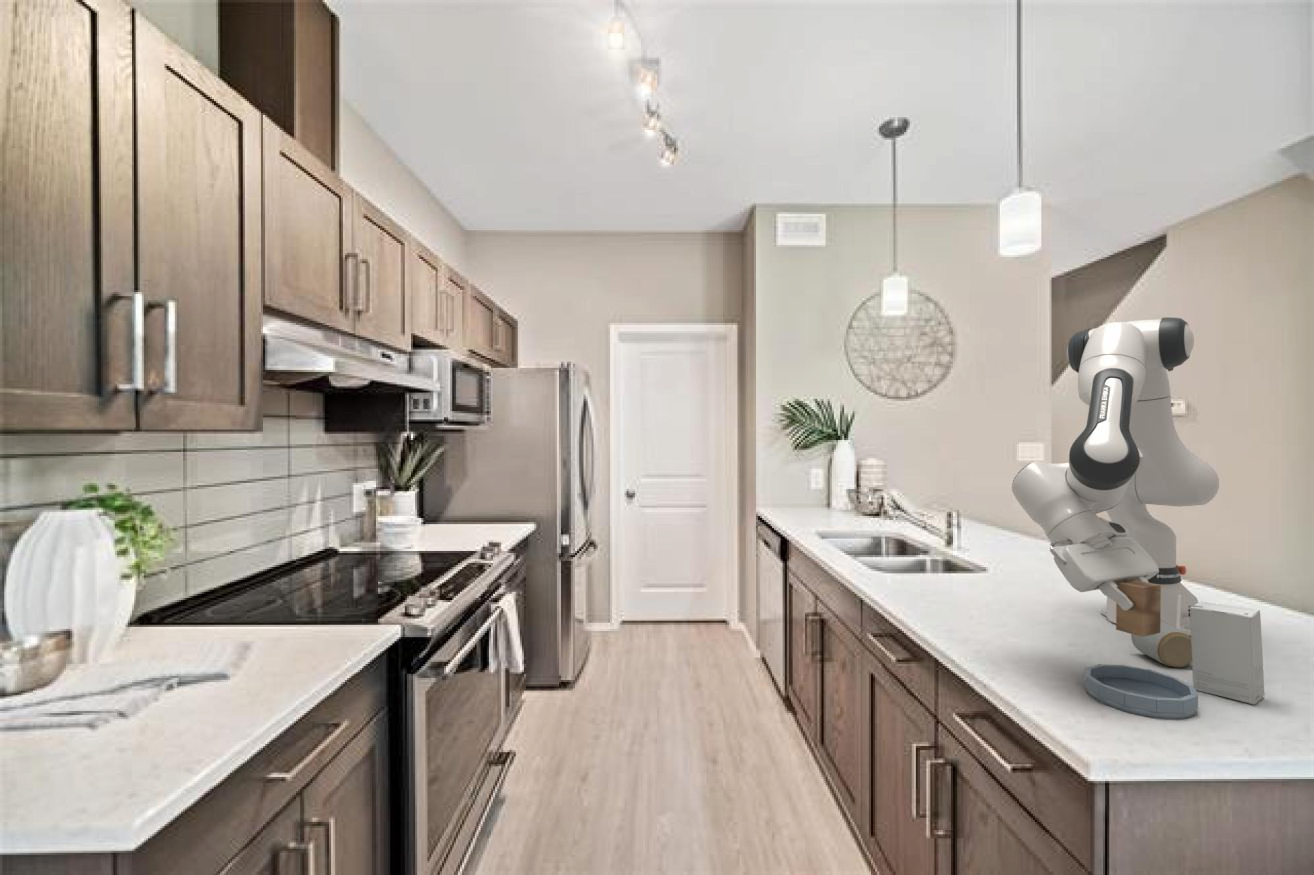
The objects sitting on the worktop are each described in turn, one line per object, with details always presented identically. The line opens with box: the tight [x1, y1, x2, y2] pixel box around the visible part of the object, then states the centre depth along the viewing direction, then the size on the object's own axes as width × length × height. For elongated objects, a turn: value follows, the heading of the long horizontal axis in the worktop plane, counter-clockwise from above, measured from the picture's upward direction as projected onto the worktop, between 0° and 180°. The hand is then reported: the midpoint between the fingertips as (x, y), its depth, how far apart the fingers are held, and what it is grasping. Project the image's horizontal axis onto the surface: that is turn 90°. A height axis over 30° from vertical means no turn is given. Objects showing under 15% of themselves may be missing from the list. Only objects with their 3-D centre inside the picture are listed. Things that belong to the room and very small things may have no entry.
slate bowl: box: [1084, 663, 1199, 720], centre depth 104 cm, size 15×15×3 cm
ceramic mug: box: [1131, 619, 1192, 668], centre depth 121 cm, size 11×8×8 cm
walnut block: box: [1115, 580, 1161, 637], centre depth 104 cm, size 5×4×8 cm
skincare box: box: [1190, 600, 1265, 705], centre depth 106 cm, size 8×6×15 cm
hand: (1142, 606), depth 103 cm, fingers closed on walnut block, 5 cm apart
